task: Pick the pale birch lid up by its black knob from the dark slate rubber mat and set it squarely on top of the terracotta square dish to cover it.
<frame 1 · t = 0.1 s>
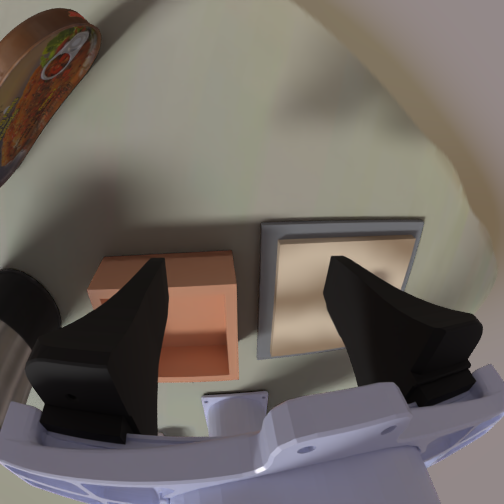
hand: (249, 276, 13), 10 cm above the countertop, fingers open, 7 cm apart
milk frother: (42, 333, 26), on the countertop
birch lid: (339, 297, 27), resting on slate mat
terracotta dish: (173, 305, 26), on the countertop
tin: (40, 107, 16), on the countertop
slate mat: (338, 294, 27), on the countertop
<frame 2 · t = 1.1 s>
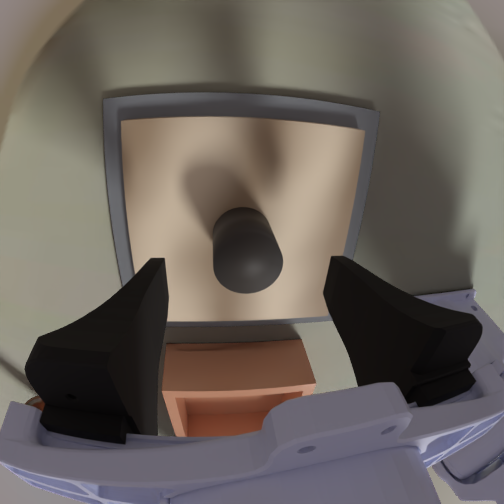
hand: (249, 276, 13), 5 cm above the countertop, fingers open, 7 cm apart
birch lid: (240, 228, 17), resting on slate mat
terracotta dish: (233, 382, 25), on the countertop
slate mat: (239, 224, 18), on the countertop
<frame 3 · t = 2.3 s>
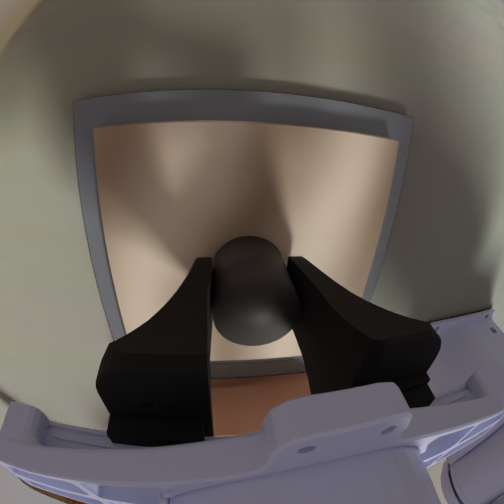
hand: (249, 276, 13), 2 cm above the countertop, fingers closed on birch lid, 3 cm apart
birch lid: (245, 258, 14), resting on slate mat, touching gripper
terracotta dish: (236, 414, 22), on the countertop
slate mat: (244, 253, 15), on the countertop
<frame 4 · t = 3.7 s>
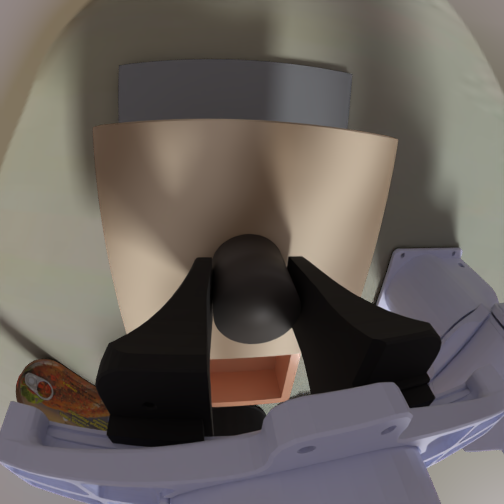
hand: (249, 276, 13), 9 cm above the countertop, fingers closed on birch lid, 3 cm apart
milk frother: (261, 414, 36), on the countertop
birch lid: (245, 257, 14), point 8 cm above the countertop, touching gripper
terracotta dish: (230, 335, 27), on the countertop
tin: (81, 383, 29), on the countertop
slate mat: (233, 171, 20), on the countertop
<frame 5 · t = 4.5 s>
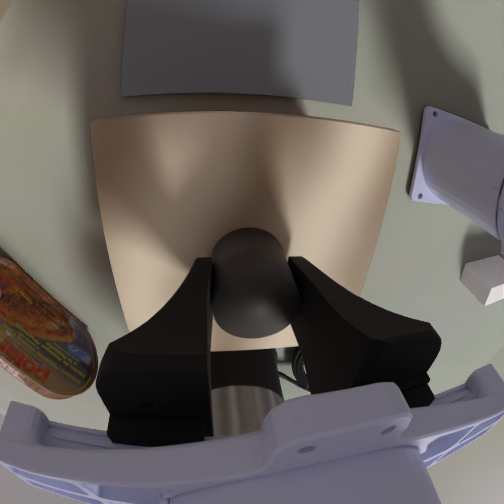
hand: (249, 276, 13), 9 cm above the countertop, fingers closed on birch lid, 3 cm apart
milk frother: (270, 353, 29), on the countertop
birch lid: (245, 249, 14), point 8 cm above the countertop, touching gripper
tin: (42, 299, 23), on the countertop
napkin holder: (486, 268, 29), on the countertop
when the fingers open (7 cm above the countertop, at t = 5.2 s): birch lid drops 1 cm, resting on terracotta dish.
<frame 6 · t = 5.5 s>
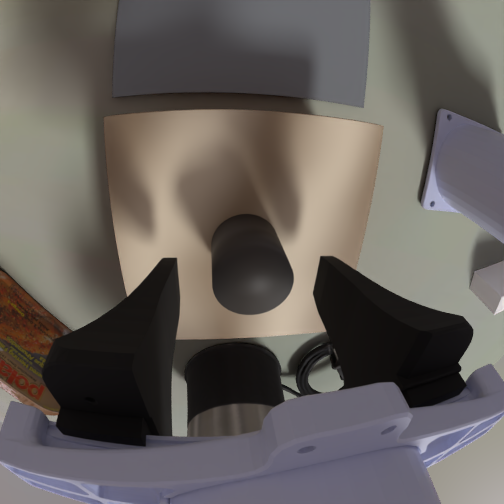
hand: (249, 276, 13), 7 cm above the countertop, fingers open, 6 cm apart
milk frother: (273, 366, 28), on the countertop
birch lid: (243, 237, 15), point 4 cm above the countertop, touching terracotta dish
tin: (35, 310, 21), on the countertop
napkin holder: (496, 273, 28), on the countertop
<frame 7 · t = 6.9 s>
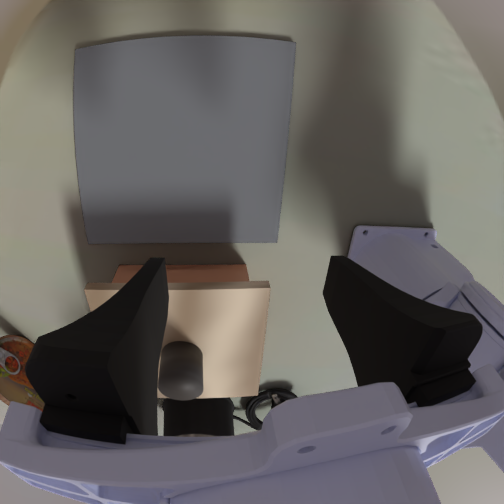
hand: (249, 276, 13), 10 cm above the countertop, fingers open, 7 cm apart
milk frother: (229, 402, 35), on the countertop
birch lid: (182, 347, 22), point 4 cm above the countertop, touching terracotta dish
terracotta dish: (184, 314, 26), on the countertop
tin: (50, 362, 29), on the countertop
slate mat: (177, 141, 19), on the countertop
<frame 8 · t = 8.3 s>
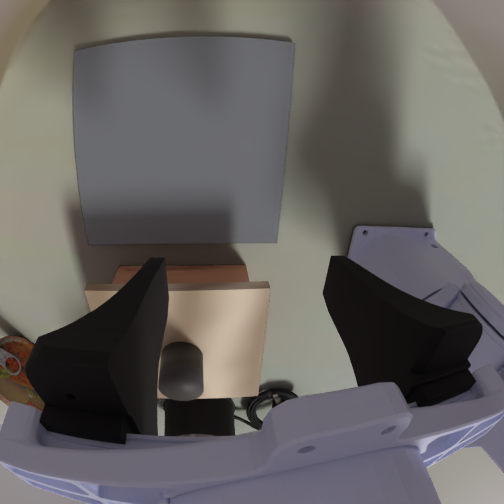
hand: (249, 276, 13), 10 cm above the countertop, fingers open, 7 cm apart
milk frother: (230, 402, 35), on the countertop
birch lid: (182, 348, 22), point 4 cm above the countertop, touching terracotta dish
terracotta dish: (185, 314, 26), on the countertop
tin: (51, 363, 29), on the countertop
slate mat: (176, 142, 19), on the countertop
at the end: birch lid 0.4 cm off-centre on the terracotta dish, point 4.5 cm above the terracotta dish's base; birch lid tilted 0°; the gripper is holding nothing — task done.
